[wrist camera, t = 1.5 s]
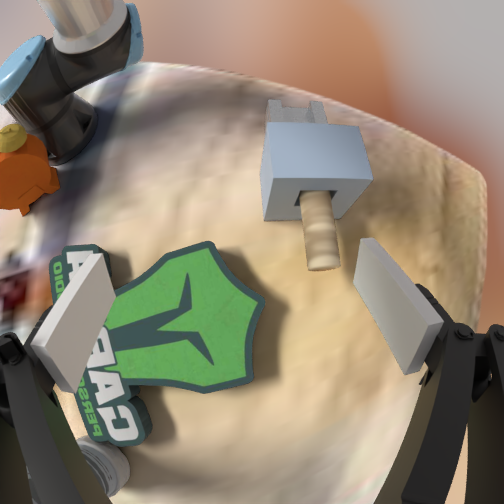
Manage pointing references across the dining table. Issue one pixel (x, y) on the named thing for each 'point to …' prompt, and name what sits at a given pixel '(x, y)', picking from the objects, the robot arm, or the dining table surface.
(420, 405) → the robot arm
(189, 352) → the emblem
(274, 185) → the grey holed block
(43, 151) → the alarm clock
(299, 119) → the v block
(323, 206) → the beige long cylinder
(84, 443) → the canister
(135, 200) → the dining table surface
